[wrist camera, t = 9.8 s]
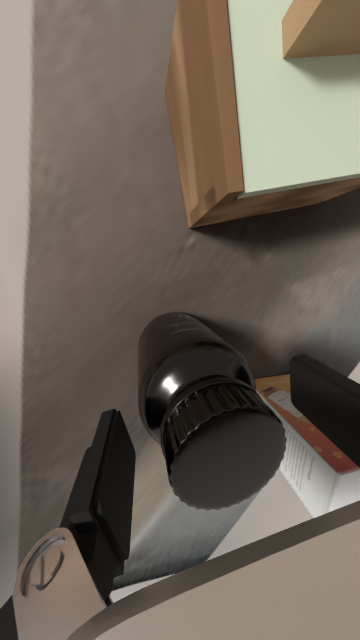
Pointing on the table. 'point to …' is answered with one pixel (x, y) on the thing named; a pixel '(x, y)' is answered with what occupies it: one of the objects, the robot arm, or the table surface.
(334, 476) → the small box
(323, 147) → the lid
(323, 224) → the table surface
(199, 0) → the brown wooden box
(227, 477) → the supplement bottle
